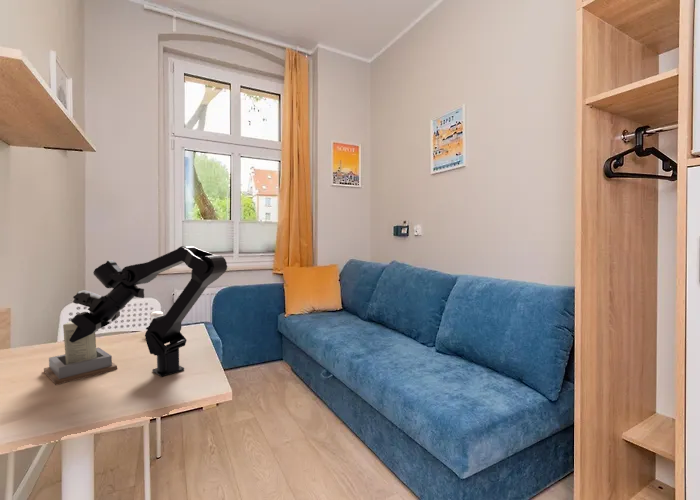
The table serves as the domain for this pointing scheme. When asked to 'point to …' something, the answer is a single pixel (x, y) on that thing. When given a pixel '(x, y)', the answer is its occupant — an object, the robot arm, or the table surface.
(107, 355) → the square frame
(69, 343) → the skincare box
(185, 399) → the table surface
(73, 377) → the walnut board
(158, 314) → the milkshake
